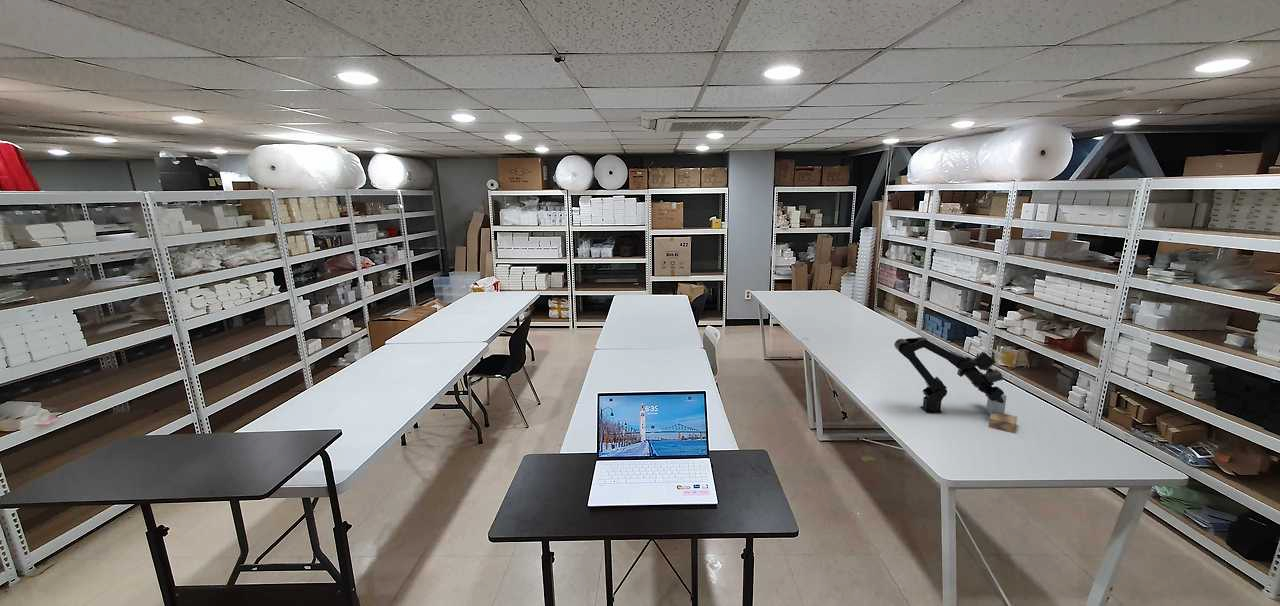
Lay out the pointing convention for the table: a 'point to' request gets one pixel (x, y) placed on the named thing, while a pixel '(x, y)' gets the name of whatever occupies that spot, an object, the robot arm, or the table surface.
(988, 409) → the slate block
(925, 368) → the robot arm
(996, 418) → the tan flat square block
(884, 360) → the table surface
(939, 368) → the table surface
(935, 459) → the table surface
